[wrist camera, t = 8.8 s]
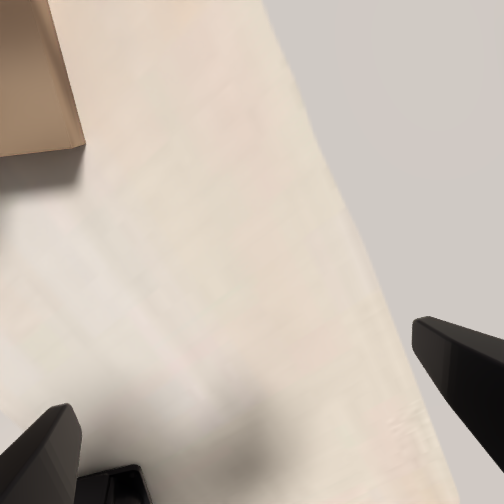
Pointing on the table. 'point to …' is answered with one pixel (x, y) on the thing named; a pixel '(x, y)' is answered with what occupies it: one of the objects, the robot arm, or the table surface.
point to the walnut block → (34, 83)
